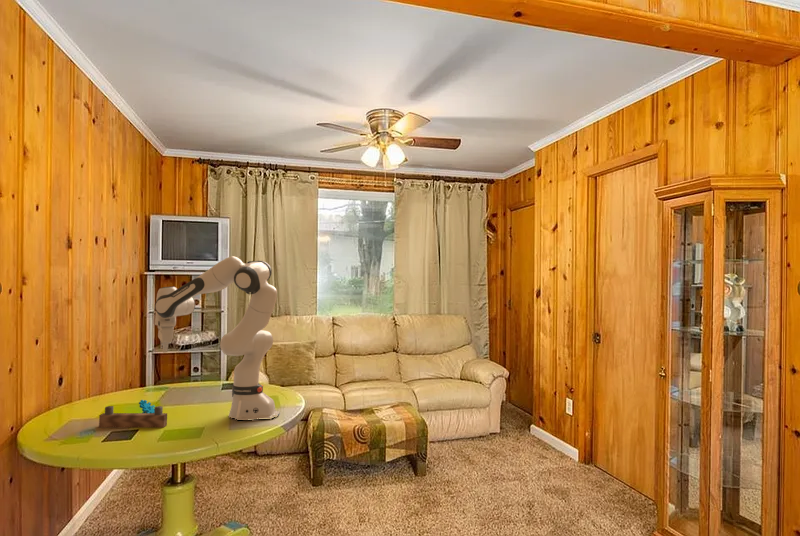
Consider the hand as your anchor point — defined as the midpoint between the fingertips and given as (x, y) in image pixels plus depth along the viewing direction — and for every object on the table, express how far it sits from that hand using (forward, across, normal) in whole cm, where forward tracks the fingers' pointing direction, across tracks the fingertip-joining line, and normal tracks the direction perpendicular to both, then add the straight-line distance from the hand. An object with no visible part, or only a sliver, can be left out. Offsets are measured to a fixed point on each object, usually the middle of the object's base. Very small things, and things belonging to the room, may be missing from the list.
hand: (163, 350), depth 217 cm
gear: (+29, +7, -5) cm, 30 cm away
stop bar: (+28, +19, -12) cm, 36 cm away
